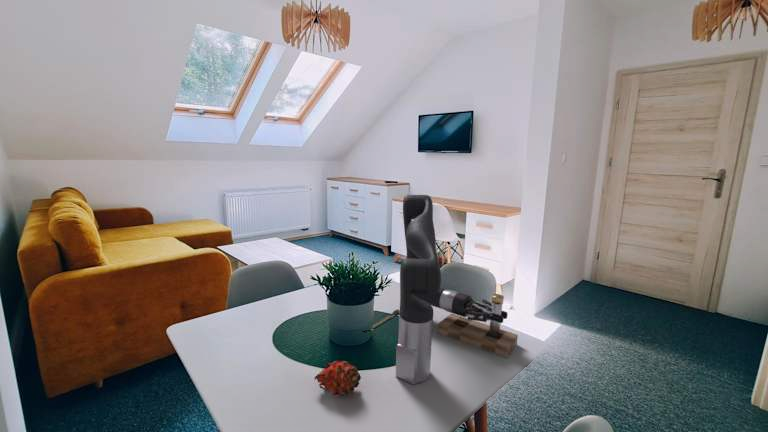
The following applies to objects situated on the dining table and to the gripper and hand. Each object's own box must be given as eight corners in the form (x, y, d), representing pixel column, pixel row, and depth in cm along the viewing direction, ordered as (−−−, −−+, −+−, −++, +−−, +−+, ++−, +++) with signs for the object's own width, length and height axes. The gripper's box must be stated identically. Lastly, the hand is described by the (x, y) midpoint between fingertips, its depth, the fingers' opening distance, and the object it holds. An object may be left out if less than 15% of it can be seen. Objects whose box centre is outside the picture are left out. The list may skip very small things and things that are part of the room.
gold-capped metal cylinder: (496, 346, 113) (501, 299, 110) (486, 342, 115) (490, 296, 112) (500, 341, 116) (505, 295, 113) (490, 338, 118) (494, 293, 115)
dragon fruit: (363, 399, 90) (318, 402, 91) (364, 366, 96) (321, 369, 97) (357, 388, 84) (308, 391, 85) (358, 353, 90) (313, 356, 91)
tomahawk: (375, 339, 118) (375, 337, 118) (360, 331, 122) (360, 329, 122) (410, 317, 134) (410, 315, 134) (396, 311, 138) (396, 308, 138)
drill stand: (506, 357, 108) (507, 347, 107) (437, 332, 122) (438, 323, 122) (516, 344, 116) (517, 334, 115) (450, 322, 130) (451, 313, 129)
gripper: (446, 298, 116) (498, 314, 106) (465, 286, 127) (513, 299, 117) (445, 319, 117) (496, 337, 107) (463, 306, 128) (511, 320, 118)
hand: (504, 317), depth 112 cm, fingers closed on gold-capped metal cylinder, 3 cm apart
